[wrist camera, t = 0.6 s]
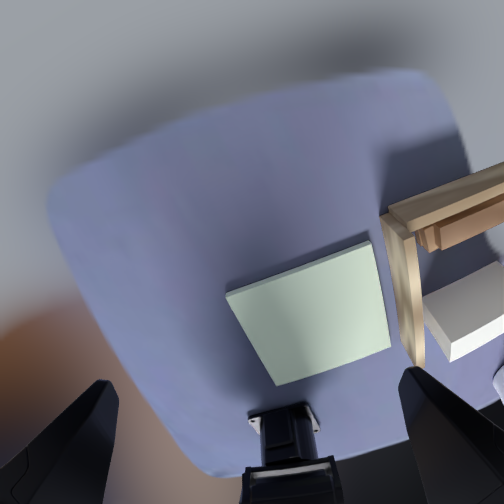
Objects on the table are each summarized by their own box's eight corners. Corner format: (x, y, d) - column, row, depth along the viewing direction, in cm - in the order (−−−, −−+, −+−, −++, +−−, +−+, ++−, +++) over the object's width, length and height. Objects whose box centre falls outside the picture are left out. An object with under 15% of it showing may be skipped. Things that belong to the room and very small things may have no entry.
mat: (388, 342, 27) (390, 346, 26) (276, 381, 28) (276, 386, 28) (368, 240, 22) (371, 243, 21) (225, 292, 24) (225, 297, 23)
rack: (509, 285, 25) (531, 307, 21) (400, 340, 27) (416, 371, 23) (511, 158, 19) (543, 172, 15) (377, 209, 21) (402, 233, 17)
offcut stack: (492, 203, 21) (514, 217, 18) (415, 241, 23) (434, 260, 20) (490, 177, 20) (513, 189, 17) (409, 214, 22) (429, 231, 19)
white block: (494, 280, 24) (529, 315, 19) (420, 317, 26) (449, 362, 20) (496, 259, 23) (534, 294, 18) (419, 297, 25) (451, 343, 19)
